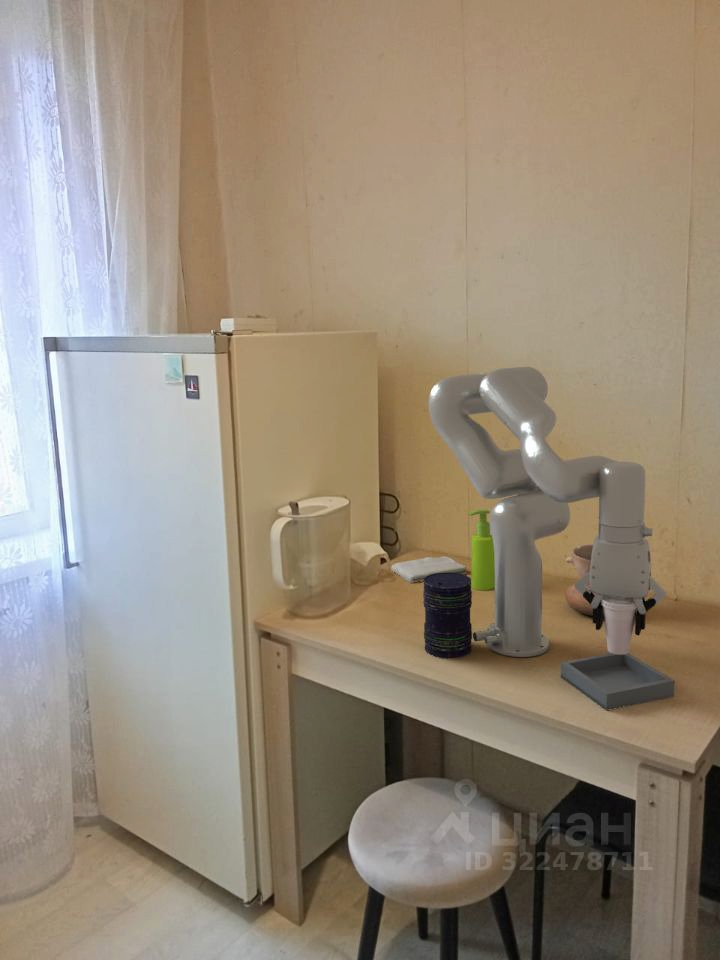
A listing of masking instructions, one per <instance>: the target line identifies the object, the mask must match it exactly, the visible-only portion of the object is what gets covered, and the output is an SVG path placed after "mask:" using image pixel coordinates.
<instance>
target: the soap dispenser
mask: <svg viewBox="0 0 720 960" xmlns="http://www.w3.org/2000/svg"><path fill="white" fill-rule="evenodd" d="M487 514H491V511H490V510H489V509H474V510H471V511H468V512H467V515H469V516H472V517H473V516H475V515H479V521H478V522H476V523H475V524H476V525H475V529H476V531H475V532H476V534H472V536H470V538H471V541H470V542H471V544H470V545H471V547H470V548H471V551H470V552H471V554H470V555H471V563H470V564H471V589H474V590H478V591H490V590H495V557H494V545H493V538H492V534H491V528H490V521H489V522H488V521H487V519H488V518H487Z"/></svg>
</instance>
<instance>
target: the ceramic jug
mask: <svg viewBox="0 0 720 960" xmlns="http://www.w3.org/2000/svg"><path fill="white" fill-rule="evenodd" d="M592 549H593V544H584V545H583V544H582V545H579V546H578V547H576V546H575V547H574V548H573V549H572V550H571V556H568V557H567V558H566V559H565V562H566V563H568V564H569V563H570V564H572V565H573V566H574V567H575V570H576V574H577V577H578V579H579V580H580V579H581V578H582V577H584V576H585V575H586V574H587V573H588V572H590V564H591V555H592ZM576 583H577V582H575V583H574V584H572V585H570V586H568V587H567V589H566V592H565V594H564V595H565V600H566V603H567V605H568V606H569V607H570V608H571V609H573V610H574V611H576V612H578V613H580V614H582V615H586V616H591V617H593V608H592V607H591V604H590V603H589V602H588V601H587V600H586V599H585V598H584V597H583V595H582V594H581V593H580V592H579V591H578V590H577V589H576V588H575V584H576ZM586 587H587V589H588V590H590V588H589V582H588V583H587V584H586ZM590 591H591V590H590ZM591 592H592V591H591ZM592 593H593V592H592ZM593 594H594V595H595V594H596V593H593ZM603 596H605V595H603ZM601 602H602V599H601ZM603 618H604V609H603Z"/></svg>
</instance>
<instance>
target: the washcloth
mask: <svg viewBox="0 0 720 960" xmlns="http://www.w3.org/2000/svg"><path fill="white" fill-rule="evenodd" d="M390 570H391V572H392V573H394V572H395V573H396V574H395V573H394V574H395V575H397V574H398V575H397V576H399V575H400V577H401V578H402V579H403V580H405V581H406V580H407V581H406V582H408V583H410V584H414V582H415V583H419V582H418V581H422V582H424V578H425V577H426V576H428V575H431V574H435V573H446V572H448V573H459V574H463V575H466V574H465V573H467V571H466V570H467V566H466V565H463V564H461V563H459V562H457V561H456V560H454V559H452V558H450V557H448V556H440V557H430V556H427V557H423V558H420V559H418V558H417V559H413V560H406V561H402V562H396V563H394V564H392V565H391V567H390ZM467 574H468V573H467Z"/></svg>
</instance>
